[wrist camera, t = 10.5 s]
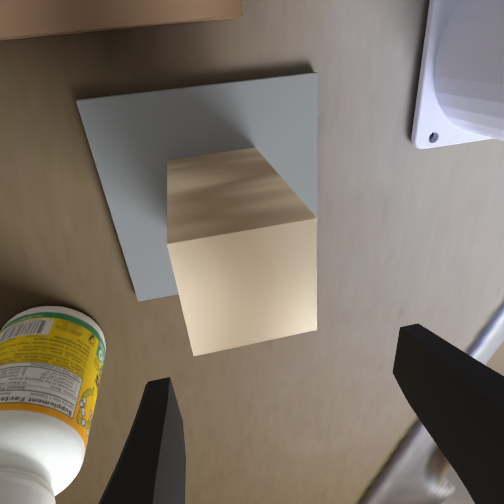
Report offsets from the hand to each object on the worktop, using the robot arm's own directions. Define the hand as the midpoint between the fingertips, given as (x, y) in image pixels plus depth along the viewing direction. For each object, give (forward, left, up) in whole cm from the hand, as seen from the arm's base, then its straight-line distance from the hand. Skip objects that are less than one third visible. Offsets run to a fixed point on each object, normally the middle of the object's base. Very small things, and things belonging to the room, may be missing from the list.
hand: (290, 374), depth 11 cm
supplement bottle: (+11, +4, -10) cm, 15 cm away
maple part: (+1, -3, -9) cm, 9 cm away
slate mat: (+1, -3, -9) cm, 10 cm away
